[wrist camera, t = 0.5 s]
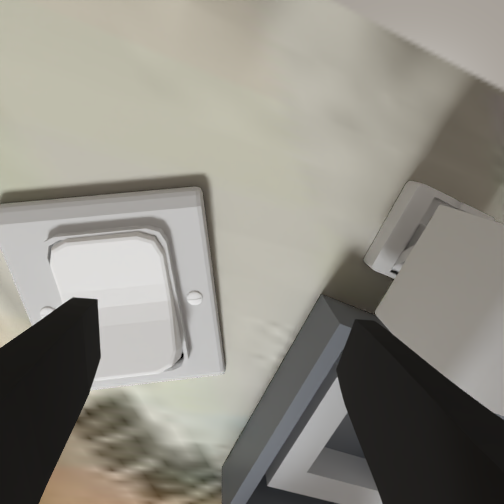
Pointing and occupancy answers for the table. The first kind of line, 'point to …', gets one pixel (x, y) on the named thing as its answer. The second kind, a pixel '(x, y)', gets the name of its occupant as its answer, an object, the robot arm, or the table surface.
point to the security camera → (445, 288)
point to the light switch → (123, 277)
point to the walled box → (304, 426)
